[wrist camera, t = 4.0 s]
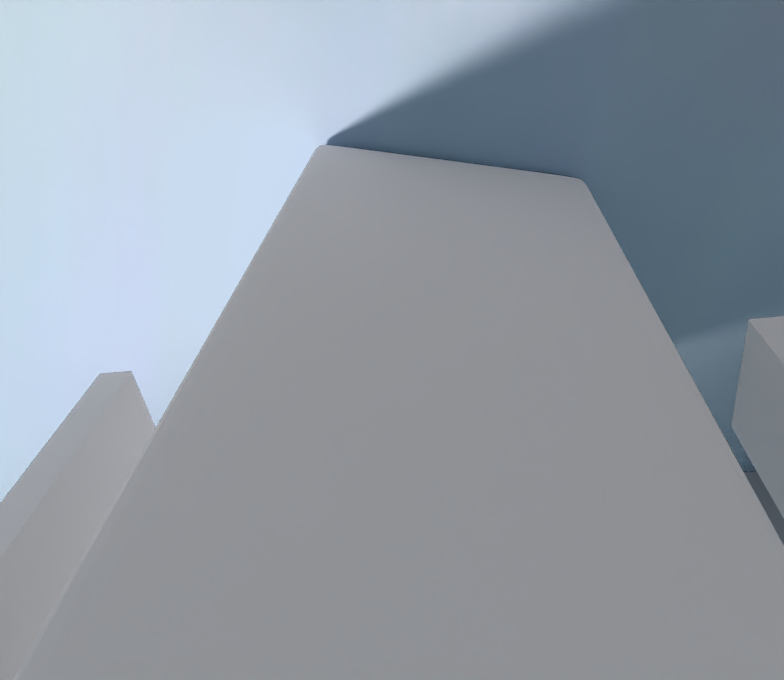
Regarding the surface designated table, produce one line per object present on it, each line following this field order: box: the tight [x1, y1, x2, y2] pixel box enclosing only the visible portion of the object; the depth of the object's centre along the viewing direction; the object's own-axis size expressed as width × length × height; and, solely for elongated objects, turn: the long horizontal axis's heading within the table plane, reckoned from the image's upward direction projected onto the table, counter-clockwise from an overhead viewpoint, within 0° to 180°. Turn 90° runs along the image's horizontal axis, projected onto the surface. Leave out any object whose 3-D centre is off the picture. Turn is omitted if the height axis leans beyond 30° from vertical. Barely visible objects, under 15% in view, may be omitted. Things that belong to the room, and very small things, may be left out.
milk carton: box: [13, 145, 784, 680], centre depth 11 cm, size 7×7×19 cm
